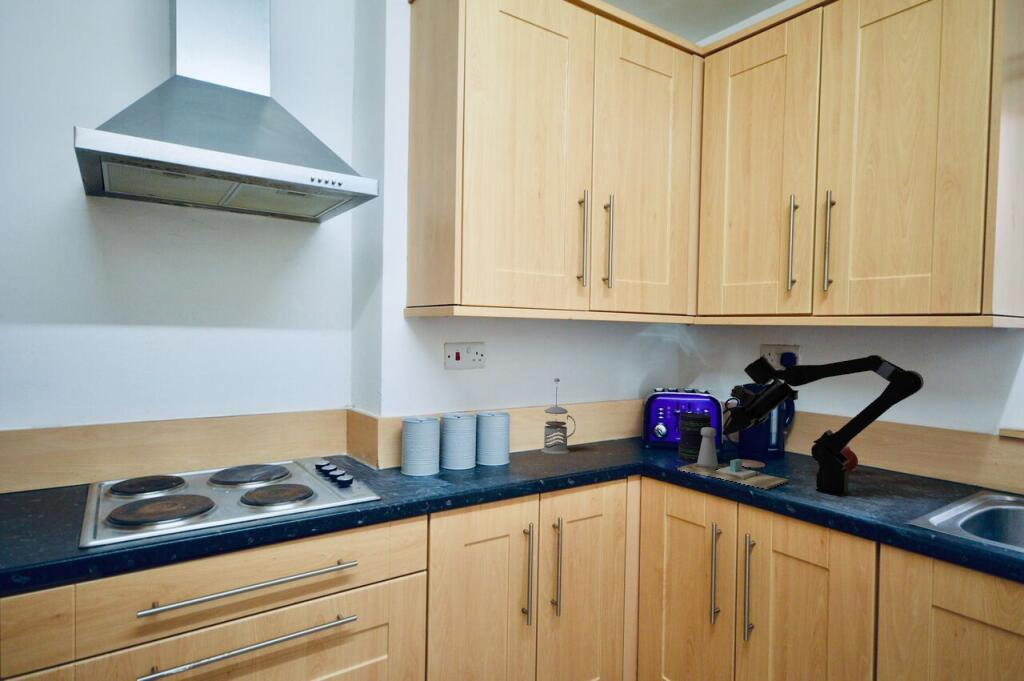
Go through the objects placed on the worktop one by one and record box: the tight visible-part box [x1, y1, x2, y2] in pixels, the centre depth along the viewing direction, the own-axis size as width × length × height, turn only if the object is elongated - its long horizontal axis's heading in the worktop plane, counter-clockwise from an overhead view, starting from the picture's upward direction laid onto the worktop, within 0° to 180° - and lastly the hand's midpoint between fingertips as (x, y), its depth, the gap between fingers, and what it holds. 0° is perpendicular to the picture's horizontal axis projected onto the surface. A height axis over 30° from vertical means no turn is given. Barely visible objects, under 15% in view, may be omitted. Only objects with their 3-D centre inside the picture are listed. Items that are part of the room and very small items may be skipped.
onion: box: [842, 445, 859, 473], centre depth 175 cm, size 6×6×8 cm
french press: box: [540, 377, 577, 455], centre depth 198 cm, size 10×12×25 cm
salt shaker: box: [697, 427, 719, 471], centre depth 173 cm, size 6×6×13 cm
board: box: [677, 463, 789, 490], centre depth 168 cm, size 27×13×2 cm, turn 42°
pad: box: [741, 459, 766, 469], centre depth 184 cm, size 10×10×1 cm
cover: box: [715, 458, 757, 478], centre depth 166 cm, size 8×8×4 cm
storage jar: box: [678, 412, 712, 464], centre depth 187 cm, size 10×10×15 cm
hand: (728, 432), depth 169 cm, fingers open, 9 cm apart
